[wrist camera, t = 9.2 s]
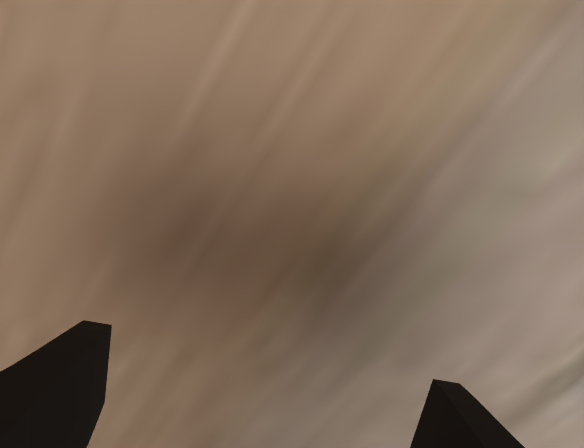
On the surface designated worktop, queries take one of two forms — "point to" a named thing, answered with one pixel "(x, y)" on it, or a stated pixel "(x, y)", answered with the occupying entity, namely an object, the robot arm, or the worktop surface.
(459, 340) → the worktop surface
